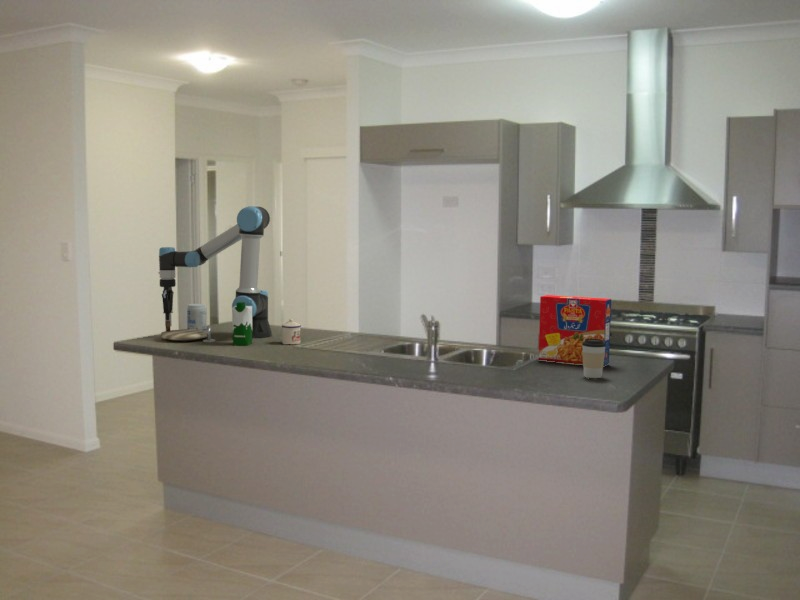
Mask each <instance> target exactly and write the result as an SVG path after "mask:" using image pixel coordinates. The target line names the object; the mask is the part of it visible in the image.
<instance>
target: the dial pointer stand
mask: <svg viewBox="0 0 800 600" xmlns="http://www.w3.org/2000/svg"><path fill="white" fill-rule="evenodd" d="M211 328H212V327H211V326H206V331H203V333H207V337H206V339H203V340H202V342H203V343H214V342H216V339H213V338H212V329H211Z"/></svg>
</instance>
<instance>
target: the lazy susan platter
mask: <svg viewBox="0 0 800 600" xmlns="http://www.w3.org/2000/svg"><path fill="white" fill-rule="evenodd" d="M203 331H205V330H196V329H183V328H182V329H173V330H172V329H171V327H170V321H166V326H165V331H162V332H161V333H160V336H161V339H164V340H170V339H172V340H189V339H199V340H200V339H203V338H207V333H203Z"/></svg>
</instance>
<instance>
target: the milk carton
mask: <svg viewBox="0 0 800 600" xmlns="http://www.w3.org/2000/svg"><path fill="white" fill-rule="evenodd" d="M231 310H232V311H231V314H232V315H231V316H232V318H231V321H232V322H231V323H232V345H233V346H242V347H243V346H246V347H247V346H250V345H251V344H252V343H253V338H252V306H245V302H237V306H234V307H232V306H231Z"/></svg>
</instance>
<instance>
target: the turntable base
mask: <svg viewBox="0 0 800 600" xmlns="http://www.w3.org/2000/svg"><path fill="white" fill-rule="evenodd" d="M199 340H200V339H189V340H172V339H169V341H170V342H179V343H182V342H183V343H184V342H187V343H188V342H195V341H196V342H197V341H199Z"/></svg>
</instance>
